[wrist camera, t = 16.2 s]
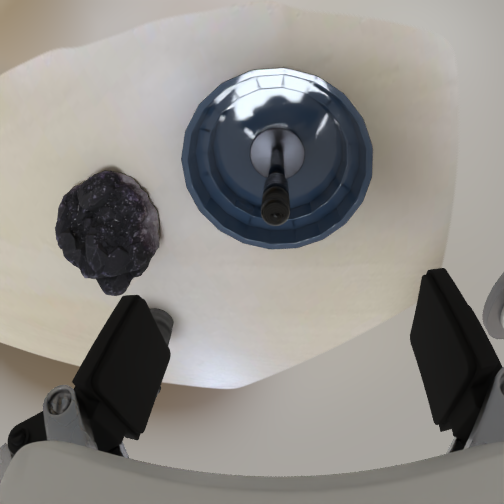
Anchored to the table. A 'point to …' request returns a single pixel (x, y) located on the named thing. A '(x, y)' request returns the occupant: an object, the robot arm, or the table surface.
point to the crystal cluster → (108, 230)
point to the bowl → (252, 183)
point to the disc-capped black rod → (276, 169)
